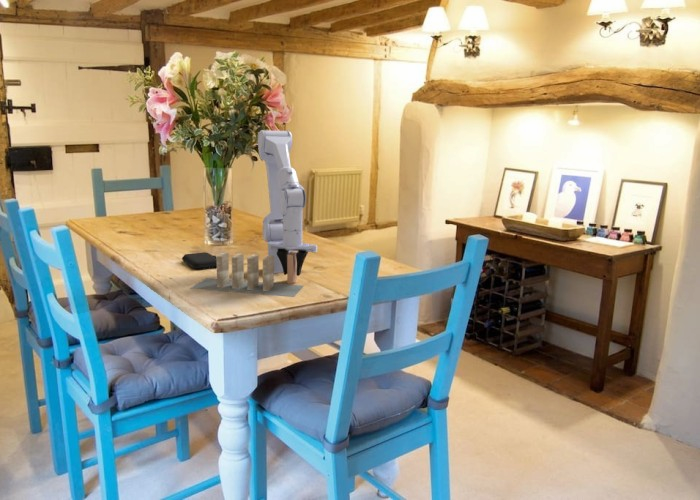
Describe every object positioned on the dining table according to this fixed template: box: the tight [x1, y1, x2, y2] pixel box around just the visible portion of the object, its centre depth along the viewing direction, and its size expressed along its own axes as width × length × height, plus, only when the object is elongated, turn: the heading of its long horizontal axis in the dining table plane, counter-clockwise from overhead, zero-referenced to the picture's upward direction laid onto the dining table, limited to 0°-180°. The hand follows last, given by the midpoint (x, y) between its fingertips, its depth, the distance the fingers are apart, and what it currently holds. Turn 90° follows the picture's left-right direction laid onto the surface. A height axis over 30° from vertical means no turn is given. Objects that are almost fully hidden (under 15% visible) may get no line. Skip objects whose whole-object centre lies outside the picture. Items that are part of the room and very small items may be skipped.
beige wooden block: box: [215, 251, 230, 288], centre depth 166 cm, size 2×5×9 cm, turn 170°
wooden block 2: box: [262, 255, 275, 291], centre depth 164 cm, size 2×5×9 cm, turn 170°
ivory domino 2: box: [231, 252, 245, 289], centre depth 165 cm, size 2×5×9 cm, turn 170°
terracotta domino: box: [286, 251, 298, 285], centre depth 172 cm, size 2×5×9 cm, turn 170°
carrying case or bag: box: [181, 251, 217, 271], centre depth 190 cm, size 11×3×15 cm
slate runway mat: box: [190, 277, 304, 298], centre depth 166 cm, size 30×11×1 cm, turn 80°
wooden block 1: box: [246, 253, 260, 290], centre depth 165 cm, size 2×5×9 cm, turn 170°
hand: (292, 274), depth 172 cm, fingers open, 3 cm apart
